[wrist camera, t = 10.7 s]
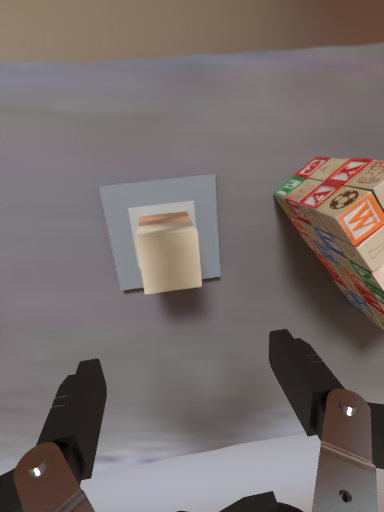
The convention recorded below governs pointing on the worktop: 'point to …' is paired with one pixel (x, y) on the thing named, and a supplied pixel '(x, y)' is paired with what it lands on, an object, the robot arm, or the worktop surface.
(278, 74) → the worktop surface
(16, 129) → the worktop surface
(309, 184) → the stack of blocks
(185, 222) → the cream and brown block
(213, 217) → the base plate
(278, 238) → the worktop surface
